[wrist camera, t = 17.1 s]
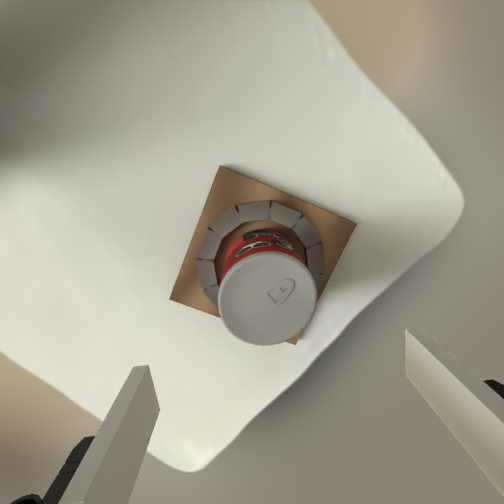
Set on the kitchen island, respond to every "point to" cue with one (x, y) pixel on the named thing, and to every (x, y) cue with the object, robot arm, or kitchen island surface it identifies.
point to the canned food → (265, 289)
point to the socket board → (251, 218)
